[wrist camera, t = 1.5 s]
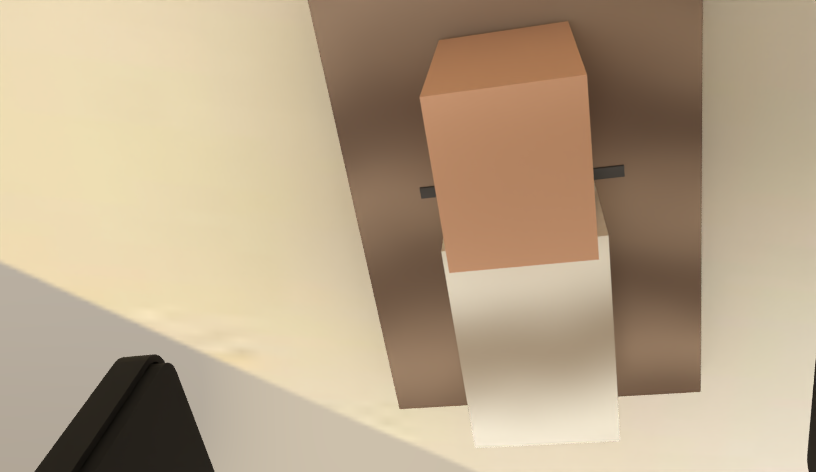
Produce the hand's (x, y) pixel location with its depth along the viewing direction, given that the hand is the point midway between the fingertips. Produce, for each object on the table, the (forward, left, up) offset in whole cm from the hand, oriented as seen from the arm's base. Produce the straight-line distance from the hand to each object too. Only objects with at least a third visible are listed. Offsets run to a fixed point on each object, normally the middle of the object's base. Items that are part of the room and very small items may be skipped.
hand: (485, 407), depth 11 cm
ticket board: (0, +1, -17) cm, 17 cm away
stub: (0, 0, -15) cm, 15 cm away
